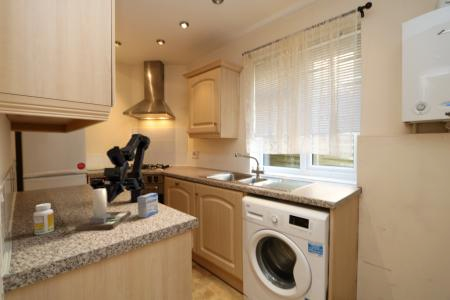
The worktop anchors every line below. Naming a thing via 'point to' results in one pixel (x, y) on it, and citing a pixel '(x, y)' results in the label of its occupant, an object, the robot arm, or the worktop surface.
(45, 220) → the supplement bottle
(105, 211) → the white tall cylinder
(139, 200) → the medicine box
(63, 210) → the worktop surface
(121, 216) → the base
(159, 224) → the worktop surface
